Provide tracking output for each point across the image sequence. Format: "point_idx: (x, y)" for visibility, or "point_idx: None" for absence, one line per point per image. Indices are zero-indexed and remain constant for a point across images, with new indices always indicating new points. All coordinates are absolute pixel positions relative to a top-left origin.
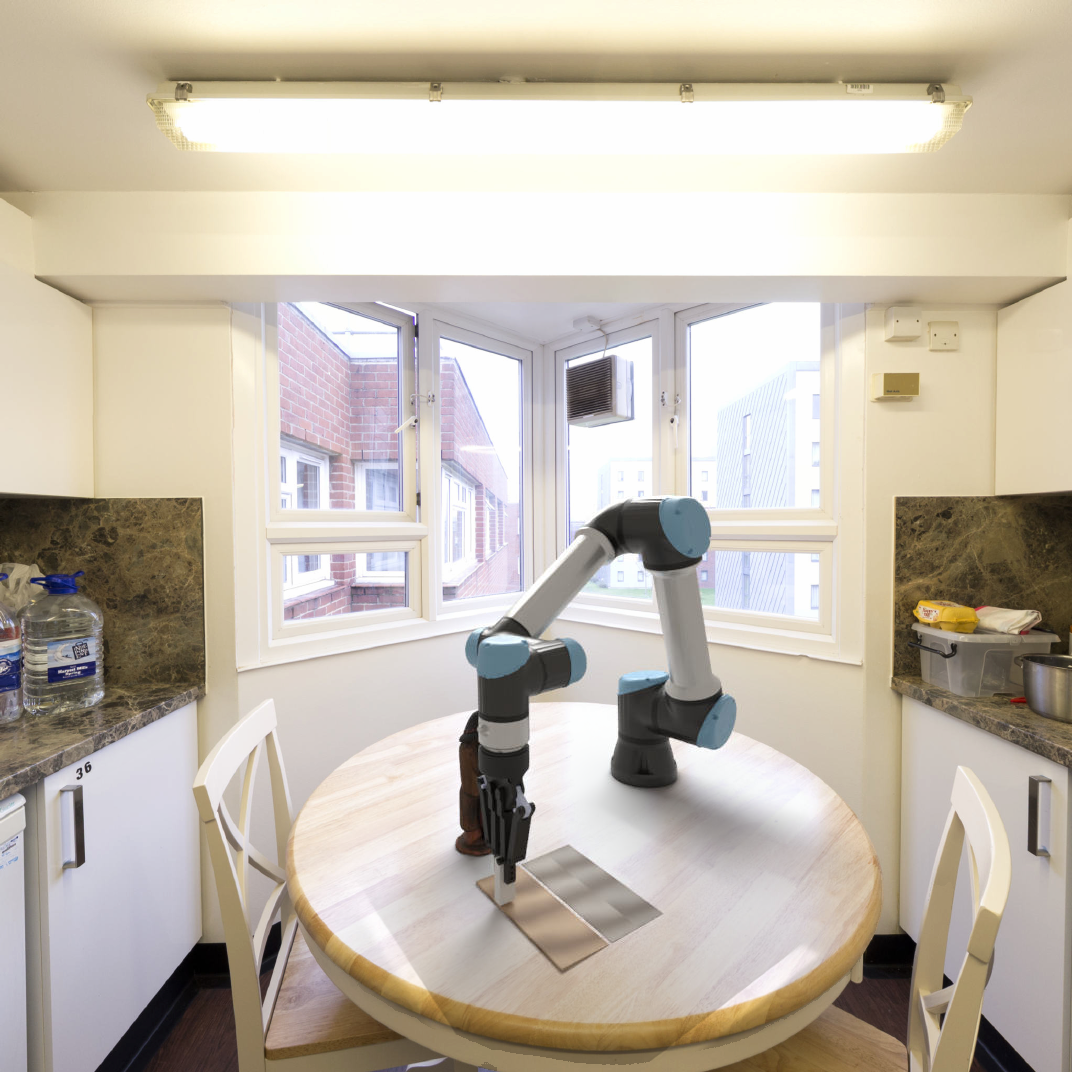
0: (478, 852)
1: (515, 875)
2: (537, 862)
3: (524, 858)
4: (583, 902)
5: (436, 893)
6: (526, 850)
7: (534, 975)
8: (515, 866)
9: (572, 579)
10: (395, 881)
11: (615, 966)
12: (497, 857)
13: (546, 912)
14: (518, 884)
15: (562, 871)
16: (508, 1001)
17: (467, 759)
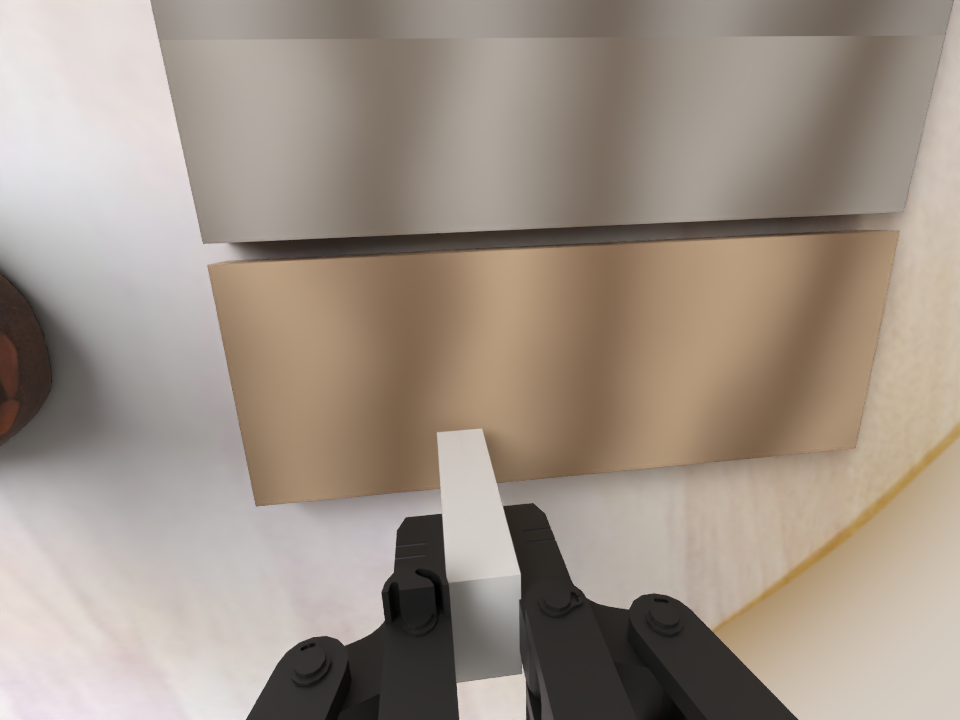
0: (2, 414)
1: (548, 529)
2: (229, 149)
3: (686, 613)
4: (661, 148)
5: (204, 596)
6: (752, 673)
7: (741, 476)
8: (566, 570)
9: None
10: (56, 693)
11: (902, 241)
12: (465, 669)
13: (609, 342)
14: (371, 350)
15: (385, 68)
16: (756, 565)
17: None
